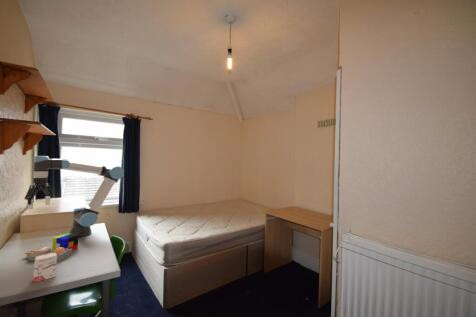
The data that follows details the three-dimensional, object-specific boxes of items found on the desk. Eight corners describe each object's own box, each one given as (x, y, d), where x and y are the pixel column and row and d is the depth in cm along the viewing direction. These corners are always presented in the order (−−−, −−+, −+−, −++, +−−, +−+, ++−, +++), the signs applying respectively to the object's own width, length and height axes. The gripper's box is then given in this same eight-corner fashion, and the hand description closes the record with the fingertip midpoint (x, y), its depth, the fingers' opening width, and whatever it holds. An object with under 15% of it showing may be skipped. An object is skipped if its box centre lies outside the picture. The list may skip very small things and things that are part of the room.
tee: (30, 255, 136) (31, 250, 136) (36, 255, 136) (37, 250, 136) (24, 257, 132) (25, 253, 132) (30, 258, 132) (31, 253, 132)
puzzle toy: (62, 254, 139) (63, 239, 139) (51, 252, 141) (53, 237, 142) (77, 248, 149) (78, 234, 149) (67, 246, 151) (68, 233, 151)
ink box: (33, 283, 106) (35, 259, 106) (32, 279, 109) (34, 256, 109) (55, 276, 112) (57, 254, 113) (54, 273, 116) (55, 252, 116)
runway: (42, 255, 139) (43, 246, 139) (71, 256, 139) (72, 247, 139) (27, 262, 129) (28, 252, 129) (59, 263, 129) (59, 253, 129)
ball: (69, 251, 137) (61, 256, 137) (64, 243, 137) (56, 249, 137) (61, 255, 131) (54, 260, 131) (56, 247, 131) (48, 253, 131)
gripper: (49, 175, 159) (48, 203, 159) (17, 178, 134) (16, 211, 134) (60, 176, 160) (58, 203, 159) (29, 178, 135) (28, 211, 134)
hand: (39, 207), depth 146 cm, fingers open, 13 cm apart
